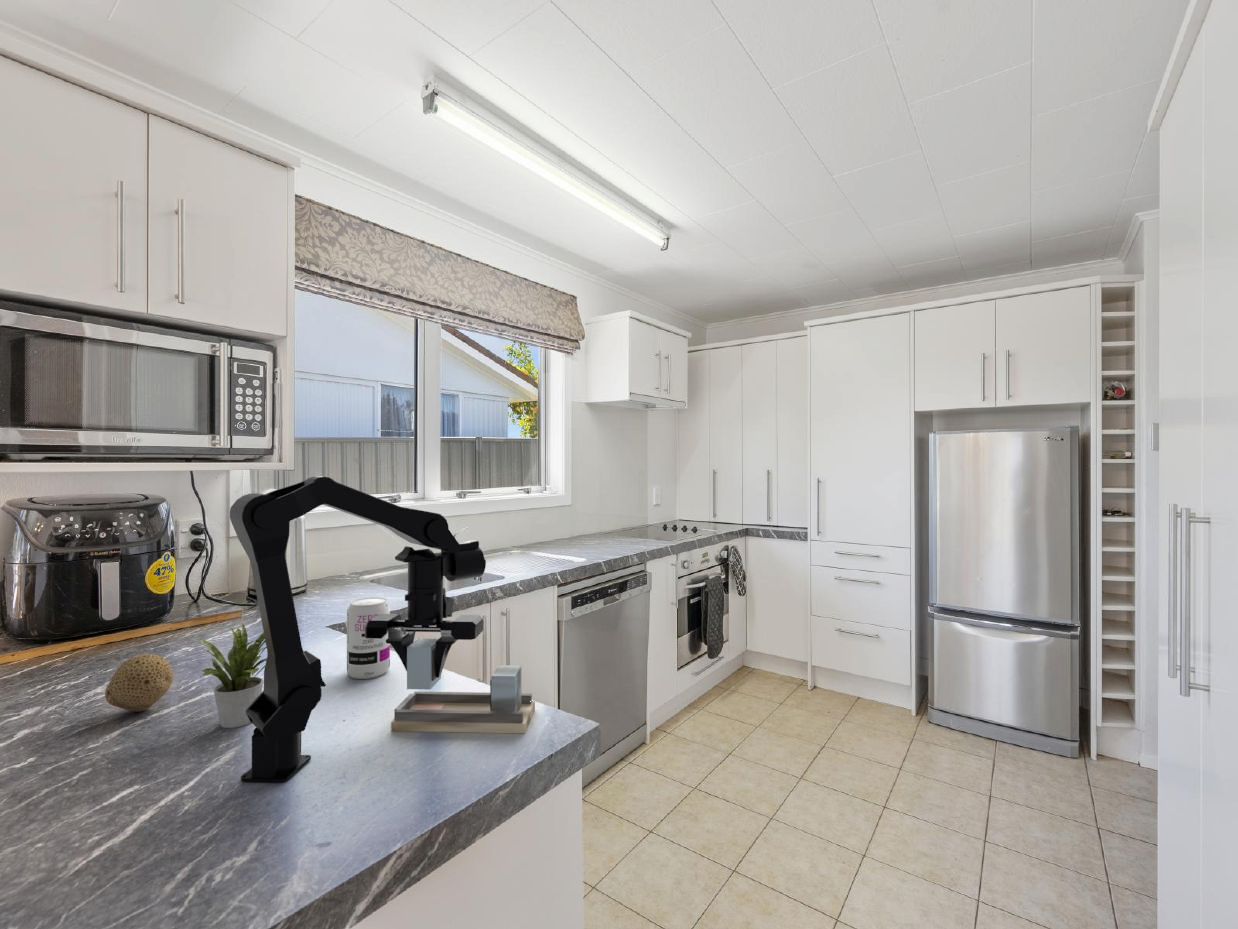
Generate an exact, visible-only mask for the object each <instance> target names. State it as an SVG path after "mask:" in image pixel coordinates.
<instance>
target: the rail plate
mask: <svg viewBox="0 0 1238 929" xmlns="http://www.w3.org/2000/svg"><path fill="white" fill-rule="evenodd" d="M489 682H490V683H489V684H490V686H489V687H490V689H489V690H490V691H489V692H473V691H472V692H470V691H469V692H468V691H465V692H462V691H459V692H458V691H414V692H413V693H409V694H408V696H406V697H405V698H404V699H403V700H402V701H401V702H400V703H399V704H398V705H397V706H396V707H395V708H394V710H393V711H394V717H393V719H392V720H391V722H390V732H423V733H425V732H426V733H430V732H431V733H436V732H437V733H481V734H482V733H483V734H484V733H485V734H525V733H526V731H527V729H528V726H529V725H530V721H531V720H532V718H533V715H534V712H535V710H536V706H535V705H536V702H535V701H534V700H532V699H533V697H532V696H533V694H532V692H531V693H530V692H525V693H524V692H522V665H508V664H507V665H503V664H502V665H501V664H500V665H497V667H496V669H495V670H494V671H493V673H492V674H491V676H490V681H489ZM530 701H531V702H530Z"/></svg>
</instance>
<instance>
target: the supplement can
mask: <svg viewBox="0 0 1238 929" xmlns="http://www.w3.org/2000/svg"><path fill="white" fill-rule="evenodd" d="M387 600H388V599H386V598H385V597H364V598H359V599H355V600H354V599H353V600H352V601H351V602H350V603H349V604H350V605H349V606H348V608H347V610H346V674H347V675H348V676H350V677H351V678H352V679H356V680H367V679H374V678H378V677H381V676H383V675H384V674H386V673H387V671H389V669H390V667H391V658H390V657H391V644H387V643H386V639H388V633H387V634H386V635H385V636H384V637H383V638H382V639H377V638H365V626H366V623H367V622H368V621H369V620H371V619H372V618H374V617H376V616H378V615H379V614H391V606H390V605H389V603H388V601H387Z"/></svg>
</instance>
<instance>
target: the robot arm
mask: <svg viewBox="0 0 1238 929" xmlns="http://www.w3.org/2000/svg"><path fill="white" fill-rule="evenodd" d="M321 506H326V507H329V508H331V509H335V510H338V511H339V512H343V513H346V514H348V515H351V516H355V517H358V518H360V519H363V520H366V521H369V522H372V523H373V524H377V525H380V526H382V527H385V528H386V529H388V530H389V531H390V532H392V533H393V534H395V535H396V536H397V537H399V538H401V539H403V540H405V541H407V542H408V543H410V544H413V545H419V546H424V547H427V548H423V549H414V547H412V546H407V545H406V546H404V548H403V549H402V550H401V551H400V552H399V553H397V555H396V556H395V557H394V560H395V561H398V562H400V563H401V562H402V563H405V564H406V563H407V593H406V594H405V595H404V601H405V602H407V617H406V618H405V619H402V616H401V615H400V614H399V613H390V614H379V615H378V616H376V617H374V618H372V619H371V620H369V621H368V622H367V623H366V626H365V638H377V639H382V638H383V637H384V636H385V635H386V634H387V633H388V639H386V643H387V644H390V646H391V647H392V649H393V650H394V651H395V653H396V654H397V656H398V657H399V659H400V661H401V663H402V665H403V667H404V669H405V672H407V647H408V646H409V645H411V644H412V643H413V642H414V641H415V636H416V632H417V633H418V632H419V633H423V632H424V633H440V635H441V636H440V637H439V639H438V640H437V641H436V657H435V671H436V677H437V678H439V677H440V676H441V677H442V674H443V669H444V667H445V664H446V661H447V658H448V654H449V652H450V650H451V648H452V645H454V644H455V643H456V642H457V641H459V640H461V641H466V640H467V641H469V640H470V641H472V640H475V639H477V638H478V636H480V635H481V633H483V631H484V618H483V617H482V615H481V614H460V615H459V616H458V617H456V618H455V619H454V620H444V619H447V618H451V617H453V611H454V610H453V609H454V600H455V599H454V598H452V597H449V596H447V595H446V588H445V587H444V577H445V579H446V581H448V582H454V581H461V580H462V581H463V580H468V579H475V578H479V577H482V576H483V574H484V573H485V570H486V566H487V560H486V559H485V555H484V552H483V551H482V549H481V548H480V541H479V540H473V539H469V540H466V541H461V542H458V540H457V539H456V538H455V536H454V534H452V532H451V530H449V523H448V519H447V517H445V516H444V515H442V514H441V513H436V512H432V511H426V510H419V509H414V508H410V507H403V506H400V505H397V504H394V503H392V502H390V501H387V500H385V499H382V498H380V497H376V496H373V495H371V494H369V493H366V492H363V491H362V490H361V491H360V490H358V489H355V488H352V487H350V486H347V485H345V484H343V483H340V482H337V481H336V480H334V479H333V478H331V477H328V476H310V477H308V478H306V479H304V480H302V481H300V482H298V483H294V484H291V485H288V486H285V487H282V488H278V489H275V490H273V491H269V492H268V493H265V494H264V493H258V492H256V493H248V494H244V495H242V496H240V497H239V498H238V499H236V500H235V501H234V503H233V504H232V505H231V506H230V509H229V519H230V523H231V525H232V527H233V530H234V531H235V535H236V536H237V539H238V541H239V543H240V545H241V547H242V548H243V550H244V552H245V554H246V555H247V557H248V560H249V561H250V567H251V573H252V578H253V582H254V588H255V593H256V598H257V599H256V600H257V603H258V609H259V614H260V615H259V616H260V621H261V626H262V630H263V631H262V632H264V636H265V639H264V641H266V642H265V645H266V646H265V647H267V648H266V651H267V656H266V658H267V660H266V661H265V665H264V666H265V667H264V668H263V689H262V692H261V694H260V695H259V696H258V697H257V698H256V699H255V700H254V702H253V703H252V704H251V705H250V706H249V707H248V708H247V709H246V714H247V716H248V718H249V721H250V722H251V723H250V724H253V726H254V729H253V735H251V768H250V769H249V770H248V771H246V772H244V773H243V774H241V776H240V781H241V782H261V783H262V782H267V783H270V782H271V783H284V782H287V781H288V780H289V779H290V778H292V776H294V775H295V774H296V773H297V772H299V770H301V768H302V767H304V766H305V765H306V764H307V763H308V762H310V761H311V760H312V755H310V754H302V732H304V731H305V730H306V727H307V725H308V722H309V719H310V717H311V714H312V711H313V710H314V709H315V708H316V707H317V705H318V704H319V702H320V701H321V699H322V693H323V692H322V687H324V688H325V687H326V686H327V684H326V683H325V681H324V680H323V676H322V661H321V659H320V658H319V657H317V656H315V655H314V654H312V653H311V652H309V651H308V650H304V649H303V646H302V645H303V644H302V641H301V640H302V639H301V635H300V629H299V622H298V617H297V613H296V606H295V601H294V595H293V590H292V586H291V585H292V584H291V581H290V575H289V570H288V563H287V558H286V556H287V555H286V553H287V549H288V548H287V547H288V544H289V539H290V532H291V530H290V529H291V528H290V525H291V524H290V522H291V521H293V520H295V519H298V518H300V517H303V516H305V515H306V514H308V513H310V512H311V511H313V510H315V509H317V508H318V507H321ZM432 549H435V550H440V552H434V551H433V550H432Z"/></svg>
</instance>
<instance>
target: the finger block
mask: <svg viewBox="0 0 1238 929" xmlns="http://www.w3.org/2000/svg"><path fill="white" fill-rule="evenodd" d="M439 638H440V637H439ZM439 638H437V637H436V638H434V637H433V638H432V637H431V638H430V637H429V638H428V637H427V638H426V637H425V638H424V637H421V638H420V637H418V638H417V639H415V640H414V642H413V643H412V644H411V645H409V646H408V647H407V671H406V690H432V689H433V687H434V686H436V685H437V683H438V682H439V681H440V680H441V679H442V675H441V676H440V677H439V678H437V677H436V671H435V657H436V641H437V640H438V639H439Z"/></svg>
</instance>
